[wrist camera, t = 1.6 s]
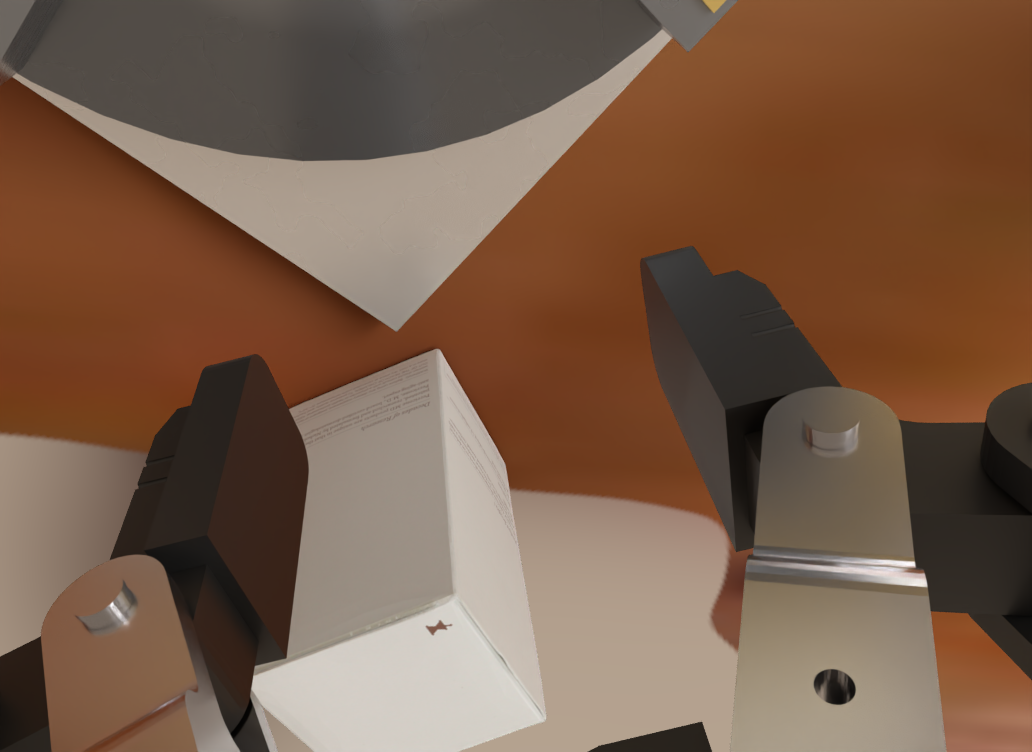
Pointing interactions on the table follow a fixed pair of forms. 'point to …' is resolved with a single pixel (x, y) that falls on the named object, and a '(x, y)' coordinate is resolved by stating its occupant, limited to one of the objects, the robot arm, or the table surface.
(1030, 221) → the table surface
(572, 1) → the grey flat round piece
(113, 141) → the base plate
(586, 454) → the table surface
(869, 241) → the table surface
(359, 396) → the supplement box
